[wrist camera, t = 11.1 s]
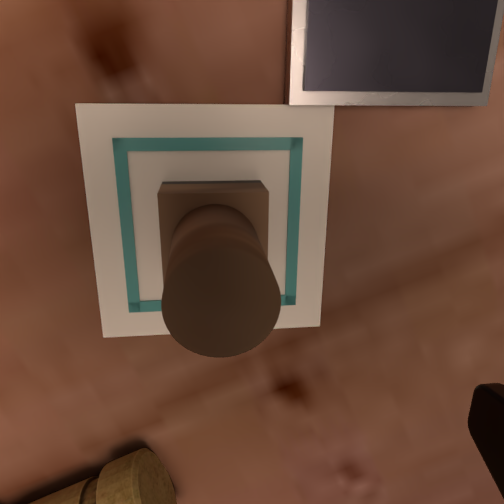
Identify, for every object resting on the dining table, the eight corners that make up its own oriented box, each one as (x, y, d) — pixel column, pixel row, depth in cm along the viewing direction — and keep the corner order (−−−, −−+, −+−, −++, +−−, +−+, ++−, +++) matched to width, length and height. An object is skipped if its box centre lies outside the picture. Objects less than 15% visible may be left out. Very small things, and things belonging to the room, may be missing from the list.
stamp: (260, 180, 18) (298, 231, 11) (259, 269, 20) (293, 365, 13) (162, 181, 18) (139, 236, 11) (167, 273, 19) (151, 374, 12)
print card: (333, 104, 18) (335, 104, 17) (318, 324, 21) (320, 327, 21) (76, 103, 17) (74, 103, 16) (104, 335, 20) (102, 339, 20)
